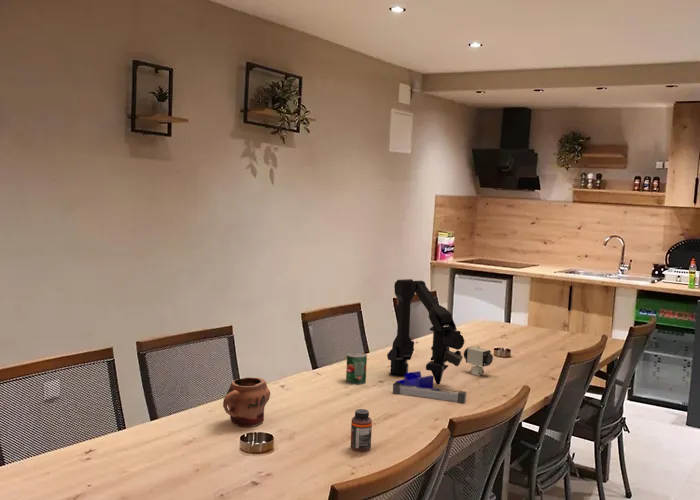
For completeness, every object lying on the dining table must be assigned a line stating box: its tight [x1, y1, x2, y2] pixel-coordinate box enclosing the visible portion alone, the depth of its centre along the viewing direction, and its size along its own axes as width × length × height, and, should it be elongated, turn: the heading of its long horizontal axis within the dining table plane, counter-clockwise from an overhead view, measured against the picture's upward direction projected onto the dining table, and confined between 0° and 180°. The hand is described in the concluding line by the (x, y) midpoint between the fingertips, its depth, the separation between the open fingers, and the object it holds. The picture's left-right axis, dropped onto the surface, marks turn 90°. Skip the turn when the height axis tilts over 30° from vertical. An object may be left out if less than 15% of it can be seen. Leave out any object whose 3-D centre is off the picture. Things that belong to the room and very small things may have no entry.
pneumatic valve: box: [463, 346, 494, 377], centre depth 292 cm, size 6×12×12 cm, turn 46°
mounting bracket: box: [395, 370, 441, 390], centre depth 267 cm, size 18×7×6 cm, turn 37°
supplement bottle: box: [350, 408, 373, 453], centre depth 202 cm, size 6×6×11 cm
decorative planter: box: [222, 377, 271, 428], centre depth 219 cm, size 20×12×14 cm, turn 154°
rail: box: [392, 381, 467, 404], centre depth 256 cm, size 27×3×4 cm, turn 70°
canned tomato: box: [345, 351, 368, 386], centre depth 273 cm, size 8×8×11 cm
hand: (438, 384), depth 266 cm, fingers closed
